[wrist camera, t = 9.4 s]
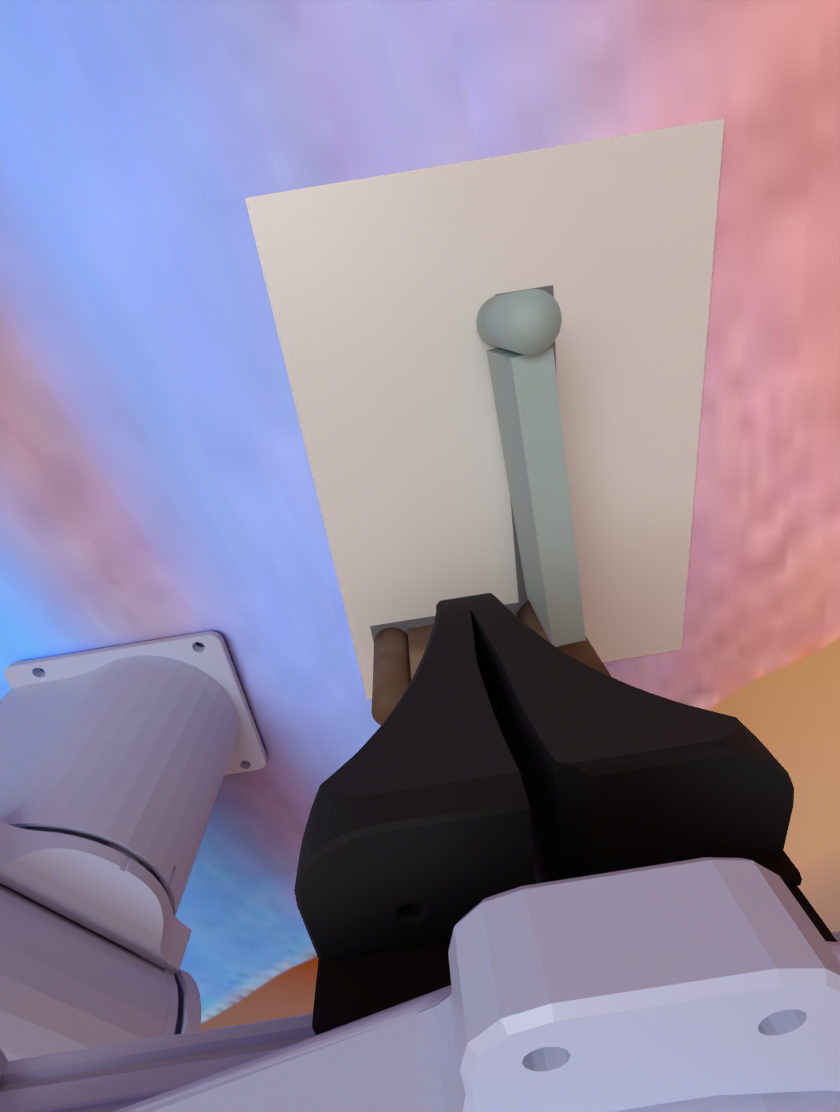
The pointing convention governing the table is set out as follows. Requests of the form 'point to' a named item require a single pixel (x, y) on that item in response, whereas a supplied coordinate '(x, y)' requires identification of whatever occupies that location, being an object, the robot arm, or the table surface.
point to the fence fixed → (405, 652)
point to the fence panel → (535, 453)
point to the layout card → (465, 382)
